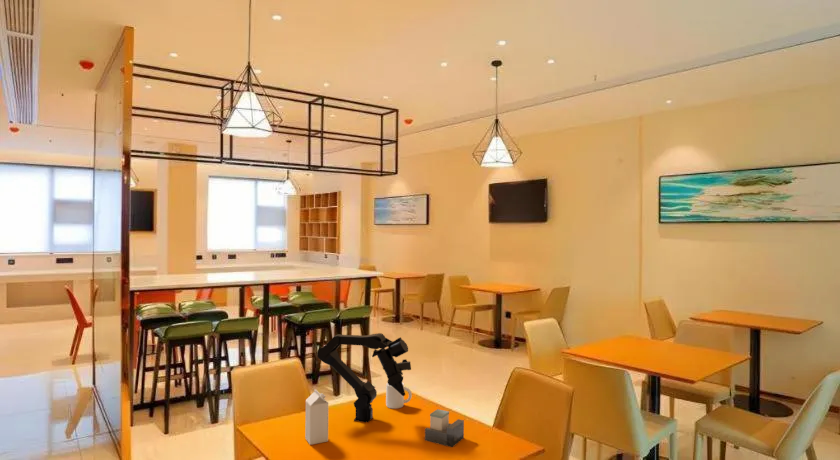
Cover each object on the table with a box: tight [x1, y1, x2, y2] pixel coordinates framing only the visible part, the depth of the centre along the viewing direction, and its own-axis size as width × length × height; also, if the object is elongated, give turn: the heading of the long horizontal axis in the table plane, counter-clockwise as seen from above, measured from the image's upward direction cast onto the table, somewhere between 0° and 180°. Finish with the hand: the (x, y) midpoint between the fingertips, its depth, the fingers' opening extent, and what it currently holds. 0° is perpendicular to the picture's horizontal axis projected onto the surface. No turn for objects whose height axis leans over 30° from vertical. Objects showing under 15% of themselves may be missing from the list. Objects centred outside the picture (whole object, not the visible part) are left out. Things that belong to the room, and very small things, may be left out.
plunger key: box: [429, 408, 450, 432], centre depth 197 cm, size 5×6×8 cm
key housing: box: [424, 418, 465, 448], centre depth 196 cm, size 12×10×7 cm
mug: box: [385, 381, 413, 410], centre depth 233 cm, size 12×8×10 cm
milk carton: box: [304, 388, 329, 446], centre depth 194 cm, size 7×7×19 cm
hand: (404, 395), depth 211 cm, fingers closed
